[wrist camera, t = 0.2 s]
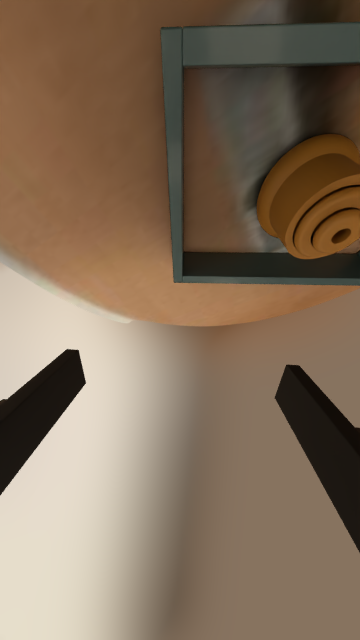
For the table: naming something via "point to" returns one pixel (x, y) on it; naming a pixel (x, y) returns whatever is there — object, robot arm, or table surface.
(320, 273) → the rectangular frame
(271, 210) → the ornamental finial
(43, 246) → the table surface
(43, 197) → the table surface
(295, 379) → the robot arm
